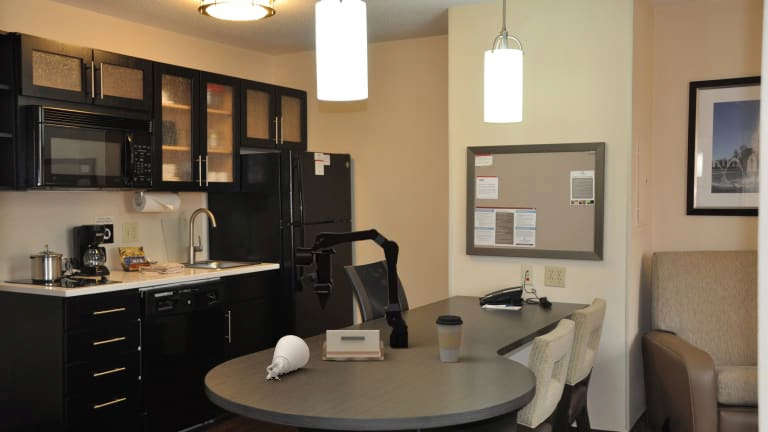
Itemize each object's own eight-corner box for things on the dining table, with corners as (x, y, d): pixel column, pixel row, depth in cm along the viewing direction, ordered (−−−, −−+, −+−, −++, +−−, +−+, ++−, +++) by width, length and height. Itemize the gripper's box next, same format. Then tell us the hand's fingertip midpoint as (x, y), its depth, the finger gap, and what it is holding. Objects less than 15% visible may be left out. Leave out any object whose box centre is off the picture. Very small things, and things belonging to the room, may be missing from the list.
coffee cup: (465, 358, 251) (465, 315, 250) (459, 364, 242) (459, 320, 241) (439, 356, 254) (439, 314, 253) (432, 362, 245) (432, 318, 244)
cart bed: (382, 352, 260) (382, 340, 260) (383, 360, 248) (383, 348, 248) (324, 352, 260) (324, 341, 260) (322, 360, 248) (322, 348, 247)
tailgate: (379, 356, 248) (379, 330, 247) (379, 357, 246) (379, 331, 246) (326, 356, 247) (326, 330, 247) (326, 357, 245) (326, 331, 245)
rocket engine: (270, 352, 217) (292, 328, 234) (246, 373, 221) (269, 348, 238) (296, 380, 218) (316, 354, 234) (271, 400, 222) (293, 374, 239)
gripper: (304, 263, 278) (304, 304, 278) (299, 268, 259) (299, 311, 260) (333, 263, 278) (333, 304, 279) (330, 268, 259) (330, 311, 260)
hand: (323, 307), depth 269 cm, fingers open, 9 cm apart
